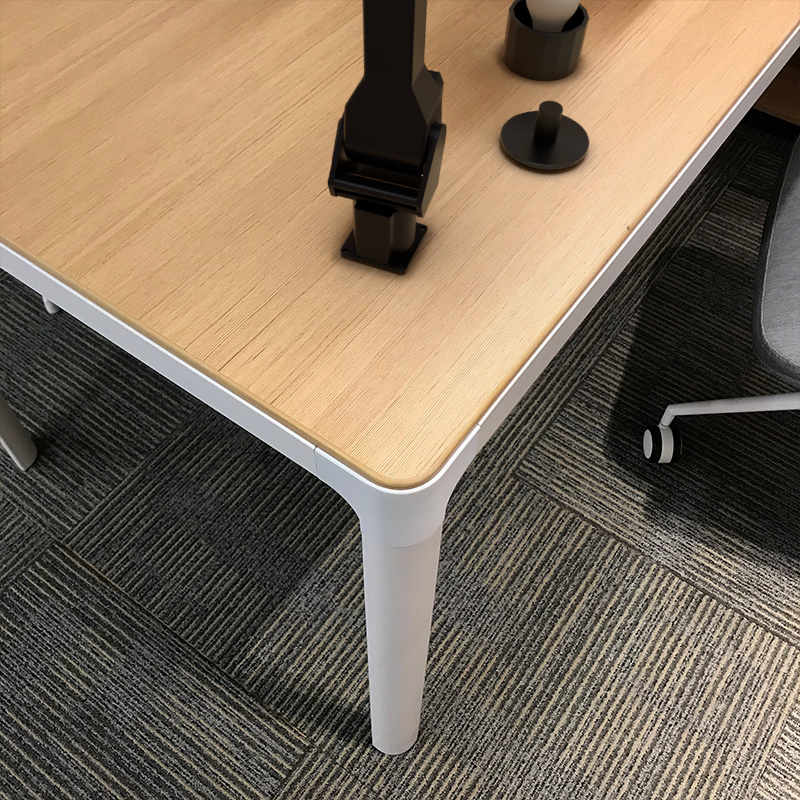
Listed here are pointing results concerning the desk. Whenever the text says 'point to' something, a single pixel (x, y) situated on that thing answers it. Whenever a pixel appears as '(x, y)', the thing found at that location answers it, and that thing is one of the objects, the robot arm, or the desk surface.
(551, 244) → the desk surface
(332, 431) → the desk surface
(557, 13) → the light bulb
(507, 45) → the bin
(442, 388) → the desk surface
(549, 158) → the bin lid
